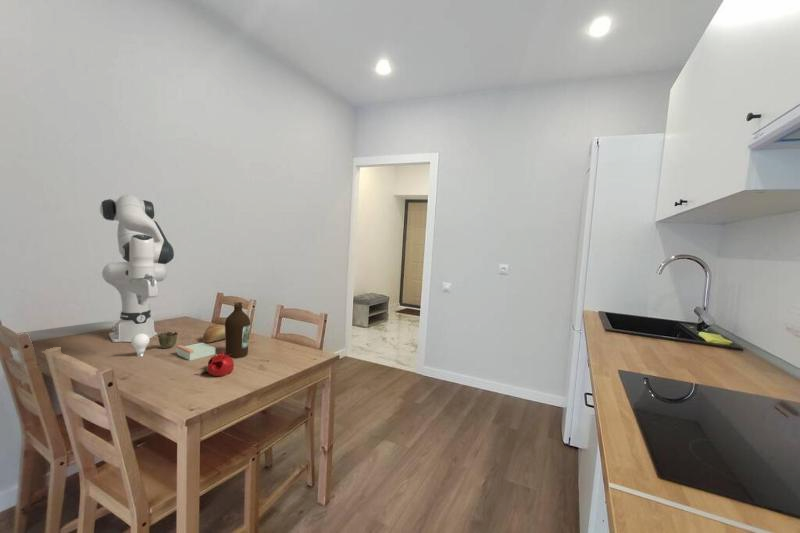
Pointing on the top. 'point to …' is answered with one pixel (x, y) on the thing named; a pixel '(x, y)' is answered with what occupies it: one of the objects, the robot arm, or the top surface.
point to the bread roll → (214, 333)
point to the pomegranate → (220, 365)
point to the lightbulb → (140, 343)
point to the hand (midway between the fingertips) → (142, 304)
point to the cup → (167, 339)
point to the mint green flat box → (195, 351)
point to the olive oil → (237, 332)
